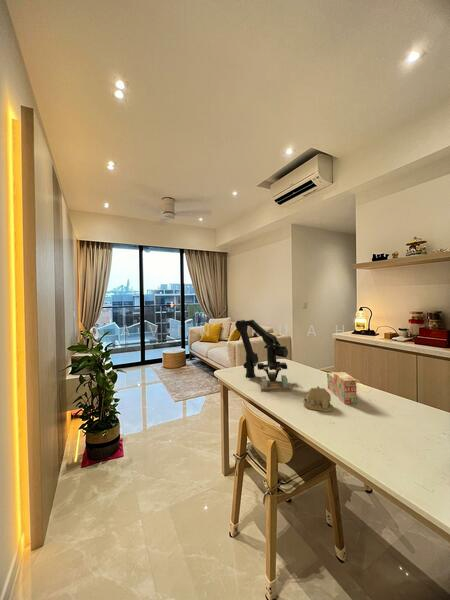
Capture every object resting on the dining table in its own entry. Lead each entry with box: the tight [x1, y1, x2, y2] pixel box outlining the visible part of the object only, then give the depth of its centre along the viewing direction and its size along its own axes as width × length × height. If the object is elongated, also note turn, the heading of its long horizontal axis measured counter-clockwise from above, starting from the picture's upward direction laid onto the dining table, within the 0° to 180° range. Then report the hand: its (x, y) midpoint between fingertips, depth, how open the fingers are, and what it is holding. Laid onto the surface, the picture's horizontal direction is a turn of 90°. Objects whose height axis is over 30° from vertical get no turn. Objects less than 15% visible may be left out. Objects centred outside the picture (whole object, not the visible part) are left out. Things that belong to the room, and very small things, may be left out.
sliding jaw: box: [280, 374, 289, 387], centre depth 150 cm, size 8×2×4 cm, turn 176°
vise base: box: [259, 375, 292, 392], centre depth 150 cm, size 12×17×6 cm
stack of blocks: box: [326, 371, 358, 405], centre depth 135 cm, size 21×6×12 cm, turn 0°
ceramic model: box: [302, 386, 335, 413], centre depth 123 cm, size 14×11×10 cm
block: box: [268, 371, 277, 381], centre depth 161 cm, size 4×4×5 cm
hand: (272, 379), depth 161 cm, fingers closed on block, 4 cm apart
